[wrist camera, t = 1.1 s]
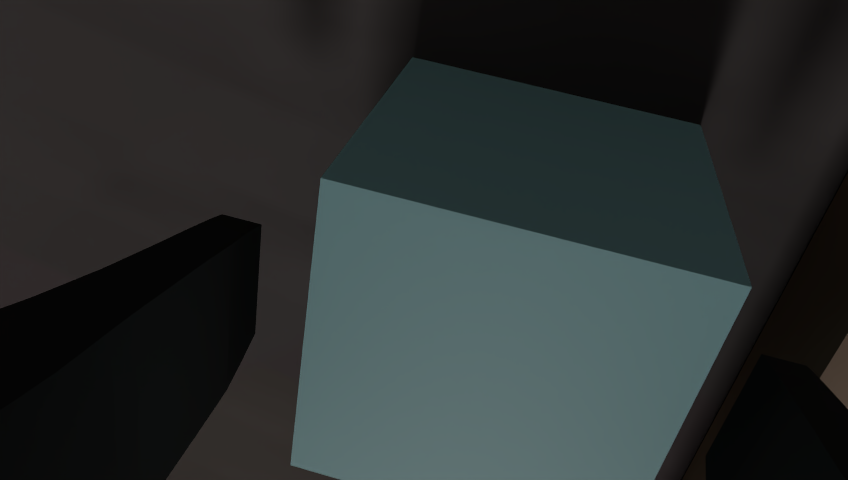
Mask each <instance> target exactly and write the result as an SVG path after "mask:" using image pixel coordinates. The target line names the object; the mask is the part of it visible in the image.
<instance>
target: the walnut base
mask: <svg viewBox="0 0 848 480" xmlns="http://www.w3.org/2000/svg"><path fill="white" fill-rule="evenodd" d="M761 354H763V355H767V356H771V357H775V358H779V359H783V360H786V361H790V362H794V363H798V364H802V365H806V366H807V367H809V368H810V369H811V370H812V371H813V372H814V373H815V374H816V375H817V376H818V377H819V378H820V379H821V380H822V381H823V382H824V384H825V385H826V386H827V387H828V388H829V389H830V390H831V391H832V392H833V393H834V394H835V395H836V397H837V398H838V399H839V400H840V401H841V402H842V403H843V404H844V405H845V407H846V408H847V409H848V173H847V175H846V176H845V178H844V180H843V182H842V184H841V186H840V188H839V189H838V191H837V193H836V195H835V197H834V199H833V201H832V202H831V204H830V206H829V208H828V210H827V212H826V214H825V215H824V217H823V219H822V221H821V223H820V225H819V227H818V228H817V230H816V232H815V234H814V236H813V238H812V240H811V241H810V243H809V245H808V247H807V249H806V251H805V253H804V254H803V256H802V258H801V260H800V262H799V264H798V266H797V267H796V269H795V271H794V273H793V275H792V277H791V278H790V280H789V282H788V284H787V286H786V288H785V290H784V291H783V293H782V295H781V297H780V299H779V301H778V303H777V304H776V306H775V308H774V310H773V312H772V314H771V316H770V317H769V319H768V321H767V323H766V325H765V327H764V329H763V330H762V332H761V334H760V336H759V338H758V340H757V342H756V343H755V345H754V347H753V349H752V351H751V353H750V355H749V356H748V358H747V360H746V362H745V364H744V366H743V368H742V369H741V371H740V373H739V375H738V377H737V379H736V380H735V382H734V384H733V386H732V388H731V390H730V392H729V393H728V395H727V397H726V399H725V401H724V403H723V405H722V406H721V408H720V410H719V412H718V414H717V416H716V418H715V419H714V421H713V423H712V425H711V427H710V429H709V431H708V432H707V434H706V436H705V438H704V440H703V442H702V444H701V445H700V447H699V449H698V451H697V453H696V455H695V457H694V458H693V460H692V462H691V464H690V466H689V468H688V470H687V471H686V473H685V475H684V477H683V479H682V480H706V457H705V456H706V454H707V452H708V451H709V449H710V447H711V445H712V443H713V441H714V440H715V438H716V436H717V434H718V432H719V430H720V429H721V427H722V425H723V423H724V421H725V420H726V418H727V416H728V414H729V412H730V410H731V409H732V407H733V405H734V403H735V401H736V399H737V398H738V396H739V394H740V392H741V390H742V389H743V387H744V385H745V383H746V381H747V379H748V378H749V376H750V374H751V372H752V370H753V369H754V367H755V365H756V363H757V361H758V359H759V358H760V356H761Z"/></svg>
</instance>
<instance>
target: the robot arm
mask: <svg viewBox="0 0 848 480" xmlns="http://www.w3.org/2000/svg"><path fill="white" fill-rule="evenodd" d="M260 241H261V224H257V223H253V222H250V221H246V220H242V219H238V218H234V217H230V216H226V215H223V214H222V215H219V216H217V217H214V218H212V219H209V220H207V221H205V222H202V223H200V224H198V225H196V226H194V227H191V228H189V229H187V230H185V231H183V232H181V233H179V234H176V235H174V236H172V237H170V238H168V239H166V240H164V241H162V242H159V243H157V244H155V245H153V246H151V247H149V248H146V249H144V250H142V251H140V252H138V253H136V254H133V255H131V256H129V257H127V258H125V259H122V260H120V261H118V262H116V263H114V264H111V265H109V266H107V267H105V268H102V269H100V270H98V271H95V272H93V273H90V274H88V275H85V276H83V277H81V278H78V279H76V280H73V281H71V282H68V283H66V284H63V285H61V286H58V287H56V288H53V289H51V290H49V291H46V292H44V293H41V294H39V295H36V296H34V297H31V298H29V299H26V300H23V301H20V302H18V303H15V304H12V305H9V306H6V307H3V308H1V309H0V480H166V478H167V477H168V476H169V474H170V473H171V471H172V470H173V468H174V467H175V465H176V464H177V462H178V461H179V459H180V458H181V457H182V455H183V454H184V452H185V451H186V449H187V448H188V446H189V445H190V443H191V442H192V441H193V439H194V438H195V436H196V435H197V433H198V432H199V430H200V429H201V427H202V426H203V424H204V423H205V421H206V420H207V418H208V417H209V416H210V414H211V413H212V411H213V410H214V408H215V407H216V405H217V404H218V402H219V401H220V399H221V398H222V396H223V395H224V393H225V392H226V390H227V388H228V386H229V384H230V383H231V381H232V379H233V377H234V375H235V373H236V371H237V369H238V367H239V365H240V363H241V361H242V359H243V357H244V355H245V353H246V351H247V349H248V347H249V345H250V343H251V341H252V339H253V337H254V334H255V325H256V308H257V292H258V275H259V258H260ZM705 457H706V480H848V409H847V408H846V407H845V405H844V404H843V403H842V402H841V401H840V400H839V399H838V398H837V397H836V395H835V394H834V393H833V392H832V391H831V390H830V389H829V388H828V387H827V386H826V385H825V384H824V382H823V381H822V380H821V379H820V378H819V377H818V376H817V375H816V374H815V373H814V372H813V371H812V370H811V369H810V368H809V367H807V366H806V365H802V364H798V363H794V362H790V361H786V360H783V359H779V358H775V357H771V356H767V355H763V354H761V356H760V358H759V359H758V361H757V363H756V365H755V367H754V369H753V370H752V372H751V374H750V376H749V378H748V379H747V381H746V383H745V385H744V387H743V389H742V390H741V392H740V394H739V396H738V398H737V399H736V401H735V403H734V405H733V407H732V409H731V410H730V412H729V414H728V416H727V418H726V420H725V421H724V423H723V425H722V427H721V429H720V430H719V432H718V434H717V436H716V438H715V440H714V441H713V443H712V445H711V447H710V449H709V451H708V452H707V454H706V456H705Z"/></svg>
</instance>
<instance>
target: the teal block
mask: <svg viewBox="0 0 848 480" xmlns="http://www.w3.org/2000/svg"><path fill="white" fill-rule="evenodd" d="M751 288H752V286H751V283H750V280H749V277H748V273H747V270H746V267H745V264H744V261H743V258H742V254H741V251H740V248H739V245H738V242H737V239H736V236H735V232H734V229H733V226H732V223H731V220H730V217H729V213H728V210H727V207H726V204H725V201H724V198H723V195H722V191H721V188H720V185H719V182H718V179H717V176H716V172H715V169H714V166H713V163H712V160H711V157H710V153H709V150H708V147H707V144H706V141H705V138H704V135H703V131H702V128H701V125H698V124H694V123H690V122H685V121H681V120H677V119H673V118H668V117H664V116H660V115H656V114H651V113H647V112H643V111H639V110H635V109H630V108H626V107H622V106H618V105H613V104H609V103H605V102H601V101H596V100H592V99H588V98H584V97H579V96H575V95H571V94H567V93H563V92H558V91H554V90H550V89H546V88H541V87H537V86H533V85H529V84H524V83H520V82H516V81H512V80H507V79H503V78H499V77H495V76H490V75H486V74H482V73H478V72H474V71H469V70H465V69H461V68H457V67H452V66H448V65H444V64H440V63H435V62H431V61H427V60H423V59H418V58H414V57H412V58H411V60H410V61H409V62H408V64H407V65H406V66H405V68H404V69H403V70H402V72H401V73H400V74H399V76H398V77H397V78H396V79H395V81H394V82H393V83H392V85H391V86H390V87H389V89H388V90H387V91H386V93H385V94H384V95H383V97H382V98H381V99H380V101H379V102H378V103H377V104H376V106H375V107H374V108H373V110H372V111H371V112H370V114H369V115H368V116H367V118H366V119H365V120H364V122H363V123H362V124H361V126H360V127H359V128H358V129H357V131H356V132H355V133H354V135H353V136H352V137H351V139H350V140H349V141H348V143H347V144H346V145H345V147H344V148H343V149H342V151H341V152H340V153H339V155H338V156H337V157H336V158H335V160H334V161H333V162H332V164H331V165H330V166H329V168H328V169H327V170H326V172H325V173H324V174H323V176H322V177H321V180H320V190H319V199H318V209H317V218H316V228H315V237H314V247H313V256H312V266H311V275H310V285H309V294H308V304H307V313H306V323H305V332H304V342H303V351H302V361H301V370H300V380H299V389H298V399H297V408H296V418H295V428H294V437H293V447H292V456H291V465H292V466H296V467H299V468H303V469H306V470H309V471H313V472H316V473H320V474H323V475H327V476H330V477H334V478H337V479H340V480H654V479H655V477H656V475H657V473H658V471H659V469H660V467H661V465H662V463H663V461H664V459H665V457H666V455H667V453H668V451H669V449H670V448H671V446H672V444H673V442H674V440H675V438H676V436H677V434H678V432H679V430H680V428H681V426H682V424H683V422H684V420H685V418H686V416H687V414H688V412H689V410H690V408H691V406H692V404H693V402H694V400H695V398H696V396H697V394H698V392H699V390H700V388H701V386H702V385H703V383H704V381H705V379H706V377H707V375H708V373H709V371H710V369H711V367H712V365H713V363H714V361H715V359H716V357H717V355H718V353H719V351H720V349H721V347H722V345H723V343H724V341H725V339H726V337H727V335H728V333H729V331H730V329H731V327H732V325H733V323H734V321H735V320H736V318H737V316H738V314H739V312H740V310H741V308H742V306H743V304H744V302H745V300H746V298H747V296H748V294H749V292H750V290H751Z"/></svg>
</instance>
